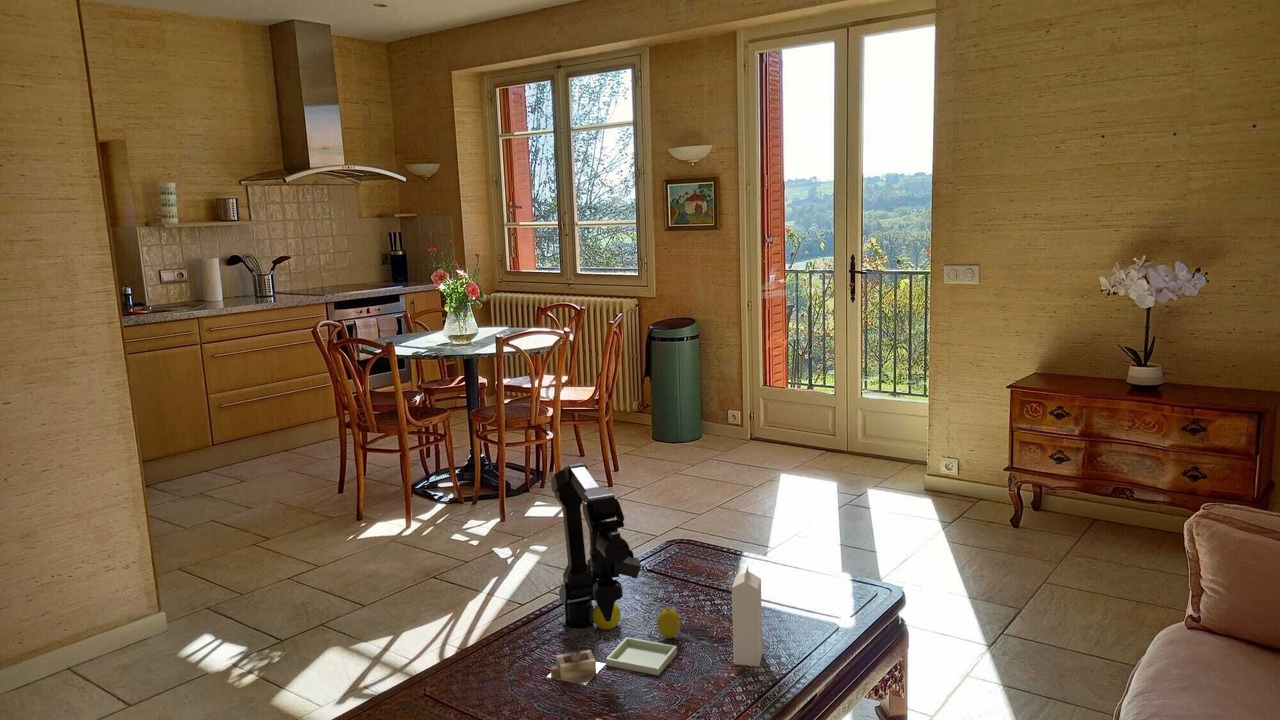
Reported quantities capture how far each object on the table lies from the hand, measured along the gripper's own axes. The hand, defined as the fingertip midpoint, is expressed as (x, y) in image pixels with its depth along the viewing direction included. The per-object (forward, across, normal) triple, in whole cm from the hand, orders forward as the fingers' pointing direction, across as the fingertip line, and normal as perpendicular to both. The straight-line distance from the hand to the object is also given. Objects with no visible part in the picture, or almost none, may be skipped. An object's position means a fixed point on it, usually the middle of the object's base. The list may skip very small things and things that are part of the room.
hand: (605, 612), depth 209 cm
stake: (+13, -2, +8) cm, 15 cm away
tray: (+13, -1, -8) cm, 15 cm away
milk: (+13, -6, -32) cm, 35 cm away
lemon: (+13, +8, -16) cm, 22 cm away
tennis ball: (+13, +18, -2) cm, 22 cm away
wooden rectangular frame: (+12, -2, +8) cm, 15 cm away
